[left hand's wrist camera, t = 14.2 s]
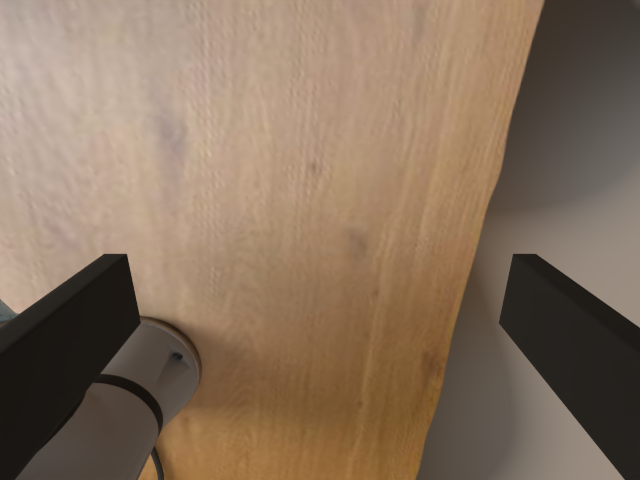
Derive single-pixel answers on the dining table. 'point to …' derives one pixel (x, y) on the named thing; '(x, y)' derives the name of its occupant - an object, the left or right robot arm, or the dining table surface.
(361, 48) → the dining table surface
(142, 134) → the dining table surface
